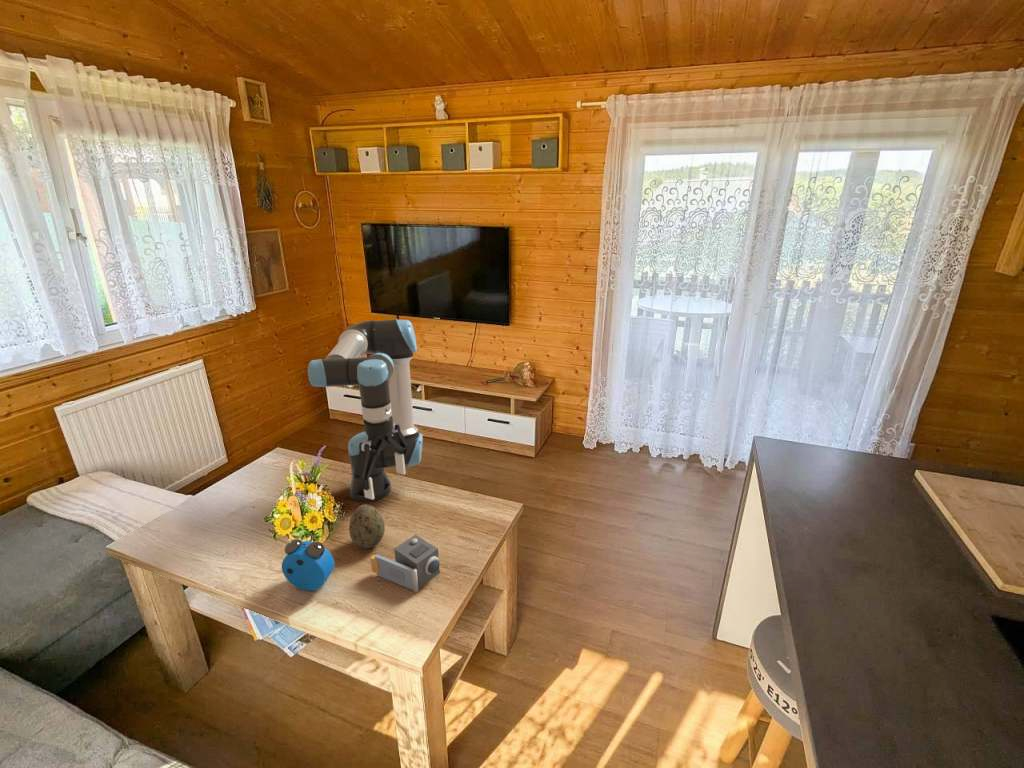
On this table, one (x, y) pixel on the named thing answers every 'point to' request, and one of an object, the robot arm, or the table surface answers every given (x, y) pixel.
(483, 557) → the table surface
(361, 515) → the decorative egg
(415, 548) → the camera body
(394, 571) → the side door
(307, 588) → the alarm clock
